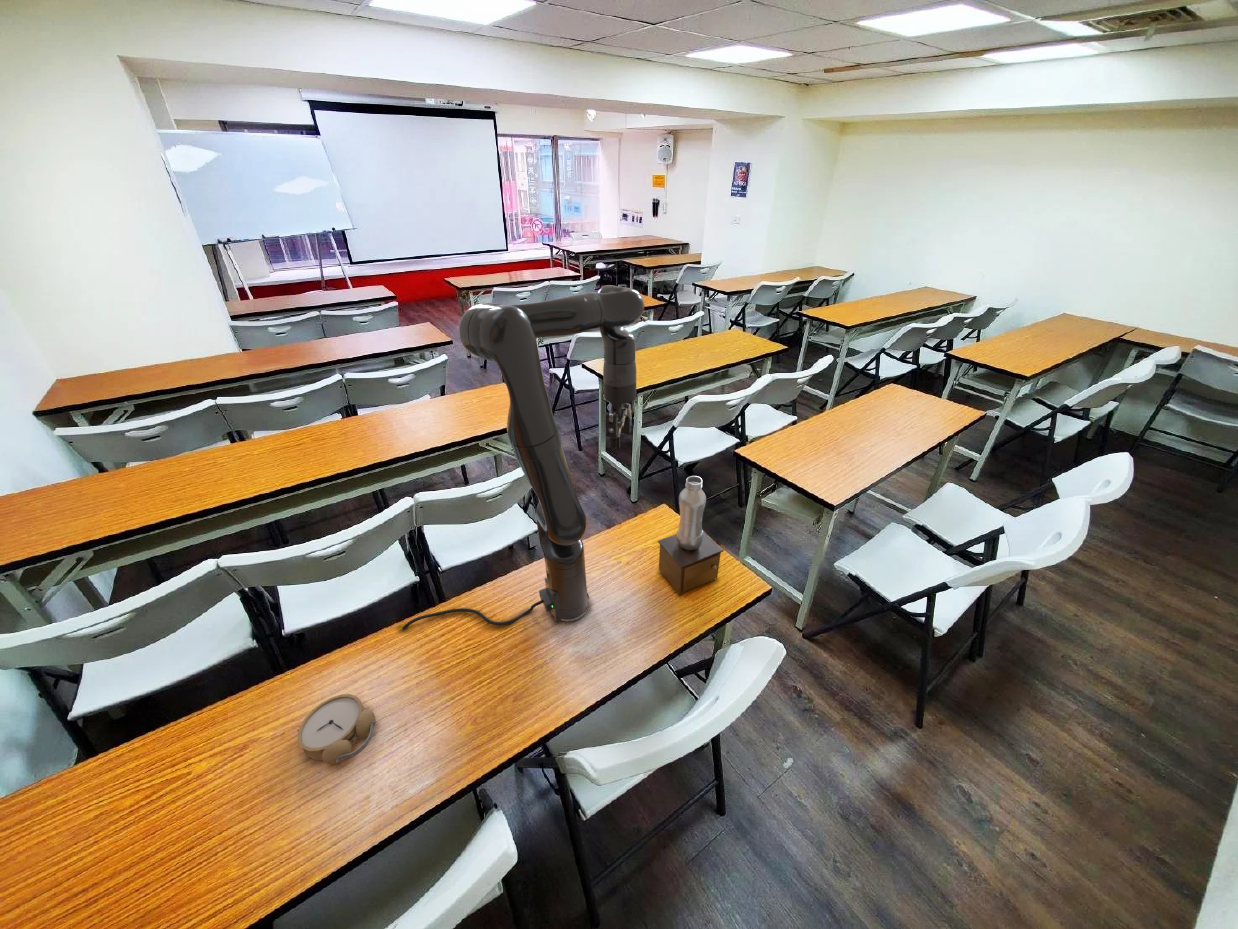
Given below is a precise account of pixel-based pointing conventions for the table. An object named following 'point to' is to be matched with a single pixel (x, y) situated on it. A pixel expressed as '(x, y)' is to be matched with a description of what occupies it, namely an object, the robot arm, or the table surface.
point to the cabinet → (689, 563)
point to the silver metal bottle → (691, 514)
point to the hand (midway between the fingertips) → (620, 441)
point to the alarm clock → (336, 729)
